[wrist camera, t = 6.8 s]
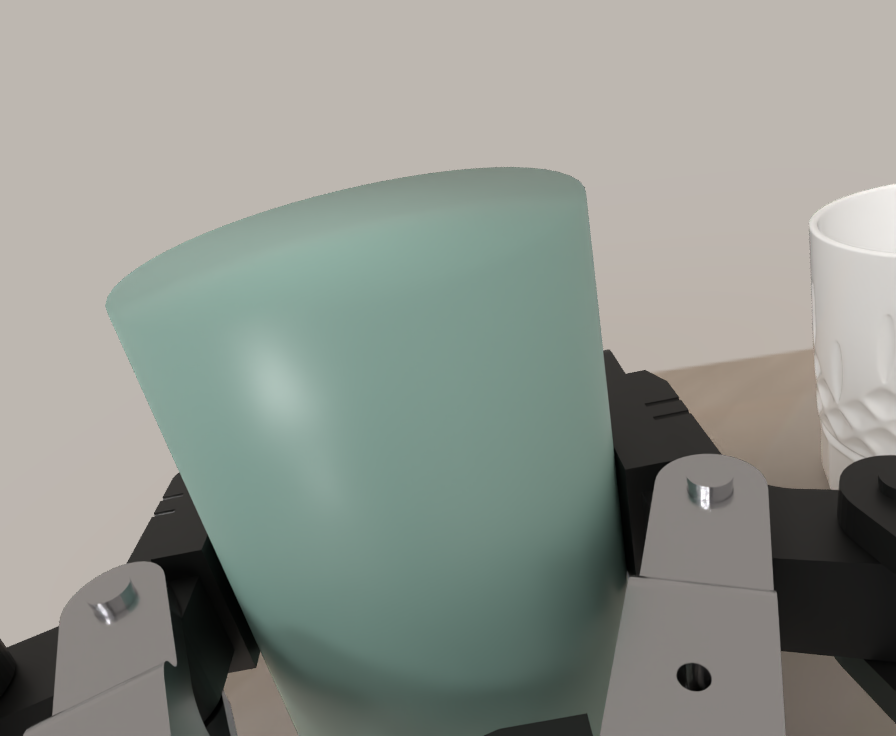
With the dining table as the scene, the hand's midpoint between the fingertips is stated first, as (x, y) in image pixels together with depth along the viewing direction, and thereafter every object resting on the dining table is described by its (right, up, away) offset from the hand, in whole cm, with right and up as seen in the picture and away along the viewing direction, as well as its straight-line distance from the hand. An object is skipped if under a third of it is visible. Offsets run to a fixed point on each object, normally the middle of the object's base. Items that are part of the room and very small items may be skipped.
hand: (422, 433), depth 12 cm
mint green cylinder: (+1, -7, +1) cm, 7 cm away
